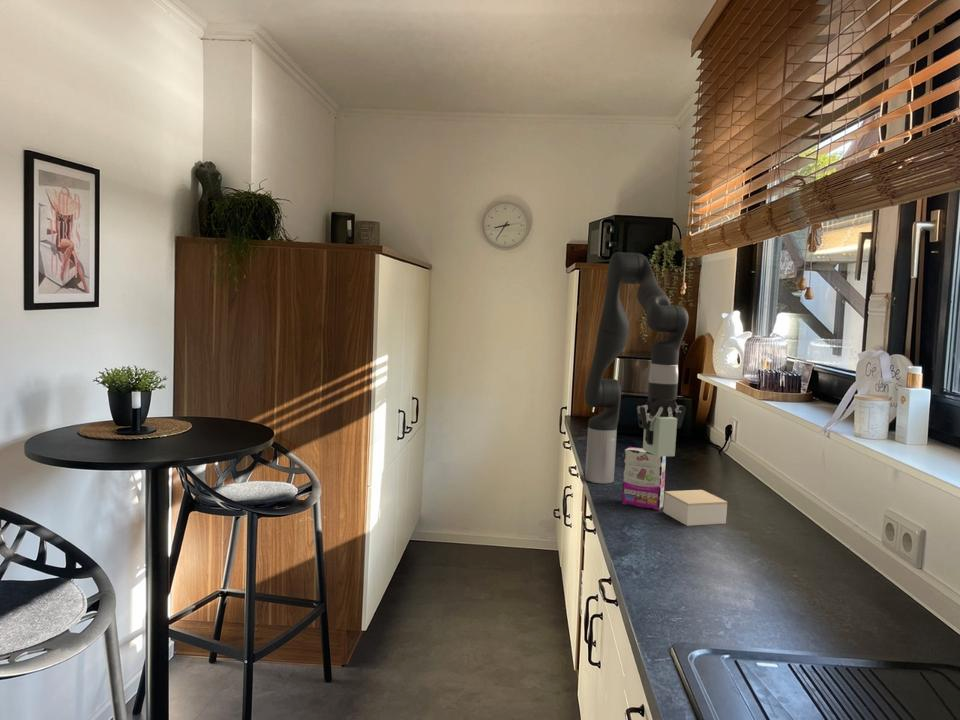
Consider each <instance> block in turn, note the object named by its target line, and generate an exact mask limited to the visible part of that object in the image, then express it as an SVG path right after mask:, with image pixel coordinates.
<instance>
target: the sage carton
mask: <svg viewBox="0 0 960 720" xmlns="http://www.w3.org/2000/svg"><path fill="white" fill-rule="evenodd" d="M648 415H649V413H648V412H647V413H646V419H647V418H648ZM674 417H675V416H673V417H656V422H655V423H654V429H653V431H654V434H653V445H649V444H647V442H646V441H645V435H646V430H645V429H644V428H643V437H642V438H643V439H642V440H643V441H642V449H643V450H644V451H646V452H649V453H651V454H653V455H655V456H657V457H663V456H666V457H675V455H676V442H677V429H678V428H677V418H674ZM650 418H651V419H653V418H654V417H653V416H651V415H650Z"/></svg>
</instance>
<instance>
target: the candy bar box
mask: <svg viewBox="0 0 960 720" xmlns="http://www.w3.org/2000/svg"><path fill="white" fill-rule="evenodd" d="M623 457H624V459H623V477H622V492H621V493H622V494H621V505H625V506H630V507H636V508H637V507H638V508H642V509H643V508H644V509H648V510H654V511H660V510H661V509H663V508H664V496H665V484H666V483H665V482H666V481H665V480H666V461H667V456H663V457H657V456H655V455H653V454H651V453H649V452H646V451H644V450H643V447H632V446H628V447H627V448H625V449H624V456H623Z"/></svg>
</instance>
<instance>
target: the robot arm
mask: <svg viewBox="0 0 960 720" xmlns="http://www.w3.org/2000/svg"><path fill="white" fill-rule="evenodd" d="M606 275H607V277H606V285H605V292H604V293H605V295H604V301H603V307H602V310H601V311H602V312H601V315H600V316H601V317H600V320H599V325H598V329H597V335H596V342H595V349H594V353H593V358H592V363H591V366H590V369H589V373H588V376H587V381H586V383H585V389H584V400H585V404H586V405H587V406H588V407H590V408H604V409H603V411H601V412H600V413H599V414H597V415H594V416H592V417H590V418H589V419H588V421H587V422H588V424H587V440H586V441H587V442H586V455H585V472H584V474H585V475H584V478H585V481H586V482H590V483H593V484H594V483H595V484H611V483H614V482H615V469H616V466H615V465H616V448H617V435H618V434H617V430H618V424H619V418H620V417H619V416H620V409H621V408H620V407H621V397H622V388H621V384H620V382H619V380H617V379H616V378H615V379H614V378H604V375H605V373H606V371H607V369H608V367H610V365H611V364H612V363H613V362H614V361H615V359H617V358H618V357H619V356H620V354H621V353H622V352H623V351H624V348H625V347H626V345H627V341H628V336H629V333H630V321H629V318H628V315H627V313H626V311H625V309H624V307H623V303H622V301H621V297H620V287H621V284H625V285H627V284H628V285H637V284H638V285H639V286H638V288H637V292H636V296H637V300H638V303H639V304H640V306H641V307H642V309H643V310H644V312H645V317H646V324H647V327H648V328H649V330H651V331H653V332H657V333H668V336H667V337H666V338H665V339H663V340H657V341H654V342H653V343H652V346H651V355H650V367H649V371H648V382H647V383H648V384H647V386H648V387H647V402H646V403H645V404H643V405H637V406H636V413H637V421H638V426H639V428H643V430H644V429H645V430H646V435H645V441H646V442H647V444H649V445H653V434H654V431H653V429H654V423H655V422H656V417H674V418H677V429H681V427H682V426H683V421H684V417H685V414H686V411H687V407H686V406H684V405H680V404H679V405H678V404H677V402H676V401H677V399H678V397H677V396H678V385H679V384H678V383H679V356H680V348H681V345H682V341H683V339H684V336H685V332H686V330H687V328H688V324H689V313H688V311H687V309H686V308H685V307H684V306H682V305H671V301H670V299H669V297H668V295H667V294H666V293H665V292H664V290H663V289H662V288H661V286H660V285H659V284H658V281H657V279H656V276H655V273H654V271H653V269H652V266H651V264H650V261H649V260H648V258H647V257H646V256H645V255H644V254H643V253H638V252H627V251H626V252H621V251H617V252H614V253H613V254H612V255H611V257H610V260H609V263H608V268H607V274H606ZM648 412H649V415H648V418H647V419H646V413H648ZM674 412H675V414H673V413H674ZM650 415H651V416H653V417H654V418H653V419H651V418H650Z"/></svg>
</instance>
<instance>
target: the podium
mask: <svg viewBox="0 0 960 720" xmlns="http://www.w3.org/2000/svg"><path fill="white" fill-rule="evenodd" d="M727 511H728V501H726V500H724V499H722V498H721V497H718V496H717V495H715V494H712V493H709V492H708V491H706V490H703V489H690V490H689V489H688V490H687V489H686V490H670V491H669V490H664V502H663V513H664V514H666V515H667V516H670V517H671V518H672V519H674V520H676V521H678V522H680V523H681V524H683V525H685V526H687V527H688V526H704V525H706V526H707V525H720V524H721V525H724V524H726V523H727Z"/></svg>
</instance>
